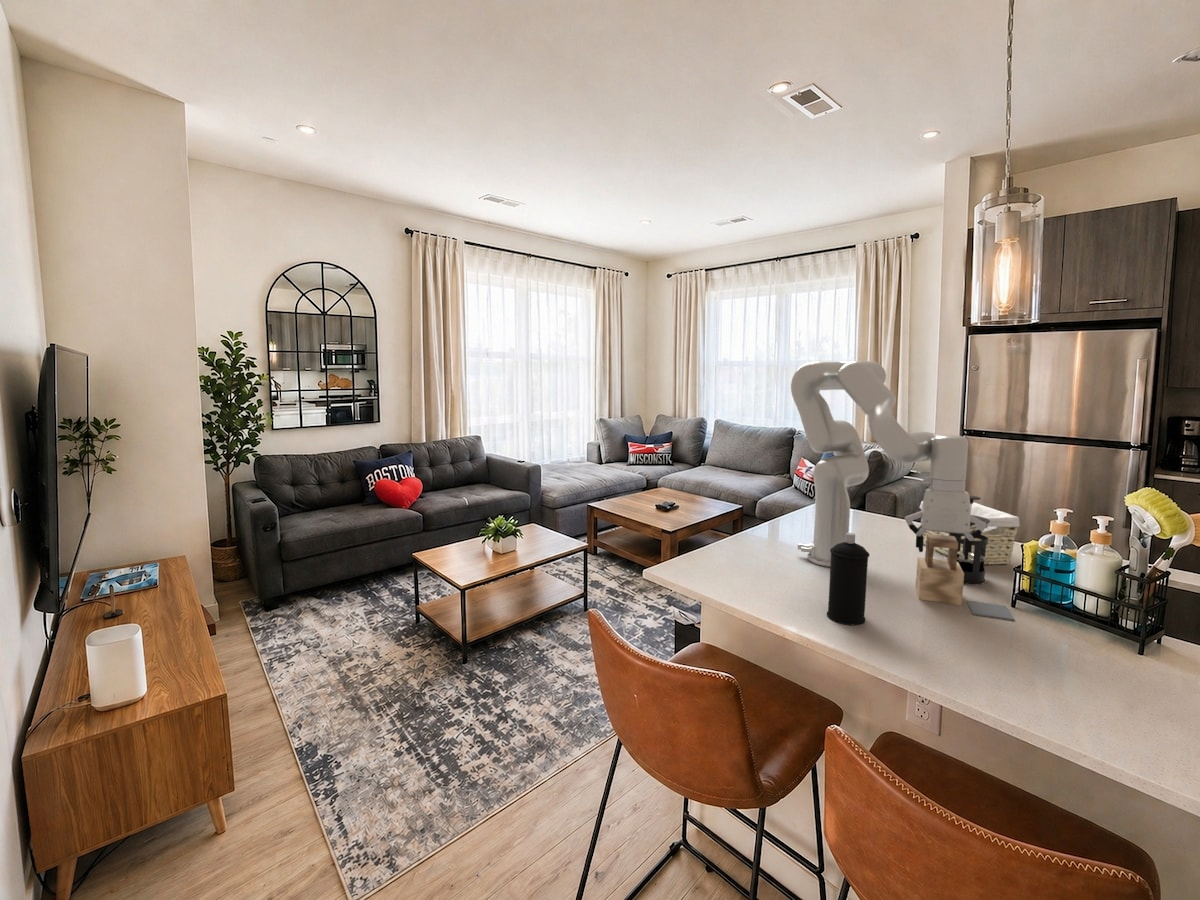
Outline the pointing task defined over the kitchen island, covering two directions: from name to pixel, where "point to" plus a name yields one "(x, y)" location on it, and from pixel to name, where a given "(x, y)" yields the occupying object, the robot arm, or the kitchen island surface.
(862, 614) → the aerosol can
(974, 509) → the storage basket
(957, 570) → the plinth
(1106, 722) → the kitchen island surface
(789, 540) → the kitchen island surface
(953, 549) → the u-shaped wooden block
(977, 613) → the coaster
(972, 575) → the french press
